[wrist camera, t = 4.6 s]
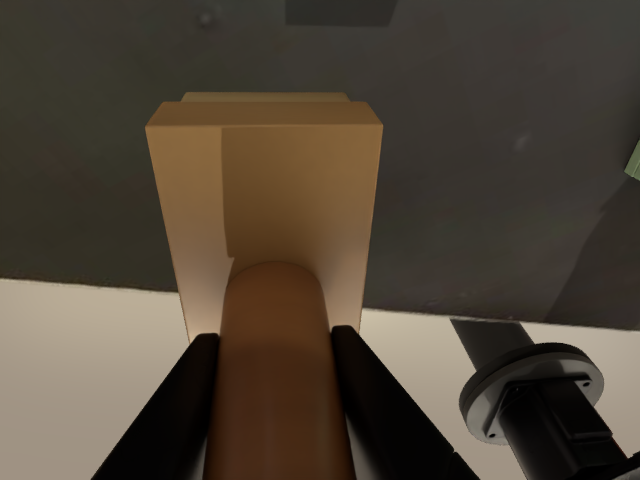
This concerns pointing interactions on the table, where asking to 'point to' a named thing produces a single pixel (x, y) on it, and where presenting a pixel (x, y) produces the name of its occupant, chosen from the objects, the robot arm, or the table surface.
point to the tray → (634, 163)
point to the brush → (270, 265)
